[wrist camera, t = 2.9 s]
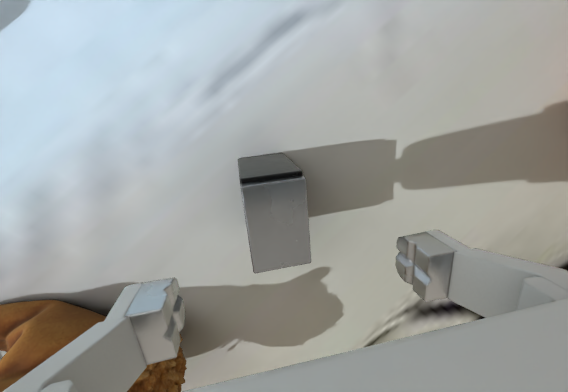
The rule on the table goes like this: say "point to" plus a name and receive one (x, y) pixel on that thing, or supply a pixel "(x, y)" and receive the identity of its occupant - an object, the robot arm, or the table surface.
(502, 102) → the table surface
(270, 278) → the table surface
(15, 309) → the stuffed squirrel
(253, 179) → the black block
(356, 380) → the robot arm
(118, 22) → the table surface
